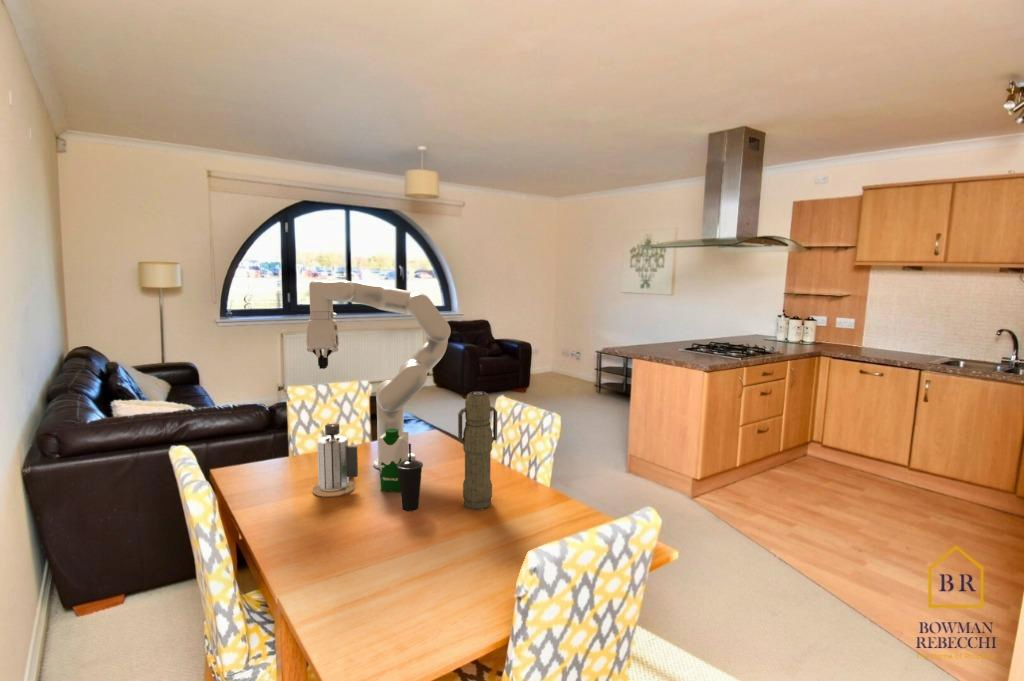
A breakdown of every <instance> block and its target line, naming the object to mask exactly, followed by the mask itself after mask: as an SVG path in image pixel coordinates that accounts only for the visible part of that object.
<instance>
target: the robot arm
mask: <svg viewBox="0 0 1024 681" xmlns="http://www.w3.org/2000/svg"><path fill="white" fill-rule="evenodd" d="M308 289H309V291H308V292H309V313H310V314H309V318H310V319H308V321H307V328H306V346H307V348H306V351H307V352H309V353H313V354H314V355H315V356H316V358H317V365H318V367H319V370H320V369H321V370H322V369H323V370H325V369H327V368H328V366H329V356H330V355H331V354H332V353H336V352H339V346H340V345H339V344H340V340H339V331H338V325H337V321H336V319H334V318H337V317H338V313H336V312H334V308H333V307H334V306H333V305H334V303H333V302H339V303H347V302H348V303H354V304H358V305H359V304H360V305H365V306H369V307H372V308H374V309H378V310H380V311H385V312H391V313H398V314H403V315H409V316H412V317H413V319H414V320H415V321H416V323H417V324H418V325H419V327H420V328H421V329H422V330H423V331H424V333H425V340H424V343H423V344H422V345H421V347H419V349H418V350H417V351H416V352H415V353H413V354H412V355H411V356H410V357H409V358H408V359H407V360H406V361H405V362H403V363H402V364H401V365H400V367H399V369H398V373H397V375H396V376H395V377H393V378H392V379H386V380H383V381H382V382H380V384H379V385H378V387H377V388H376V391H375V392H376V394H375V398H376V419H377V420H376V421H377V422H376V423H377V424H376V426H377V428H376V433H377V434H376V436H377V438H376V439H377V443H376V444H377V458H376V459H375V460H373V466H374V467H375V468H376V469H378V470H380V446H379V438H380V437H381V436H382V435H383V434H384V433H386V430H388V429H397V430H398V432H405V431H404V428H405V427H404V424H405V423H404V422H405V421H404V406H405V405H406V404H407V403H409V401H410V400H411V399H412V398H413V397H415V395H417V393H419V391H421V389H422V388H423V387H424V386H425V384H426V383H427V380H428V373H430V371H431V370H433V369H434V367H436V365H437V364H438V363H439V362H440V361H441V359H443V357H444V355H445V353H446V352H447V351H446V350H447V348H448V342H449V339H450V336H451V333H452V332H451V326H450V324H449V322H448V321H447V320H446V318H445V317H444V316H443V315H442V313H441V312H440V311H439V309H438V308H437V307H436V306H435V304H434V303H433V301H432V300H431V299H430V298H429V297H428V296H427V295H426V294H424V293H420V292H417V291H412V290H411V291H410V290H406V289H400V288H394V287H391V286H390V287H389V286H382V285H373V284H366V283H361V282H355V281H350V280H344V279H342V280H336V281H328V280H313V281H311V282H309V286H308ZM416 459H417V458H416V454H414V453H411V460H416ZM408 460H409V453H408Z"/></svg>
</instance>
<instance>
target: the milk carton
mask: <svg viewBox="0 0 1024 681" xmlns="http://www.w3.org/2000/svg"><path fill="white" fill-rule="evenodd" d="M409 434H410V432H408V431H404V432H398V430H397V429H388V430H386V433H384V434H383V435H382V436H381V437H380V438H379V446H380V469H379V474H380V475H379V479H380V480H379V481H380V491H381V492H394V493H395V492H396V493H397V492H398V493H401V492H400V482H399V473H398V468H397V464H398V463H400V462H402V461H405V460H408V454H409Z"/></svg>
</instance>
